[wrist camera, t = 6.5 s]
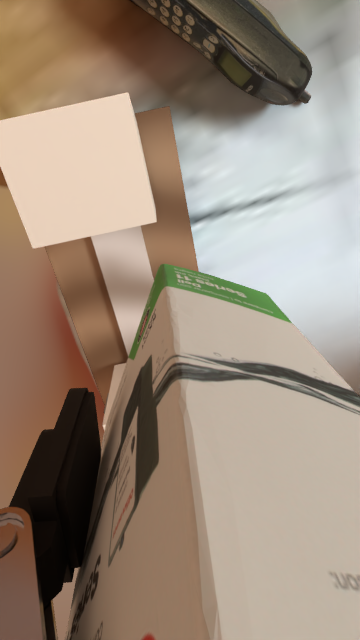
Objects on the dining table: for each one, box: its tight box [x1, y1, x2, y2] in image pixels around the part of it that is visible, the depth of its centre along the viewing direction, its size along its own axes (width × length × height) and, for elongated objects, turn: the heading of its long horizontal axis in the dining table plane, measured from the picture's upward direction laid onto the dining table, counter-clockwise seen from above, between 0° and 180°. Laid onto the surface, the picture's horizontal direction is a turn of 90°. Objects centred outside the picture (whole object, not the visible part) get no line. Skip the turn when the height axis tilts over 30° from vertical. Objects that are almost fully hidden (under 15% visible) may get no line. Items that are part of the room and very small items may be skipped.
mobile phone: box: [130, 0, 312, 105], centre depth 20 cm, size 5×3×15 cm
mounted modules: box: [0, 93, 157, 430], centre depth 24 cm, size 25×7×8 cm, turn 11°
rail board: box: [45, 106, 199, 405], centre depth 28 cm, size 26×12×2 cm, turn 11°
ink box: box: [65, 264, 360, 640], centre depth 9 cm, size 9×5×12 cm, turn 160°
